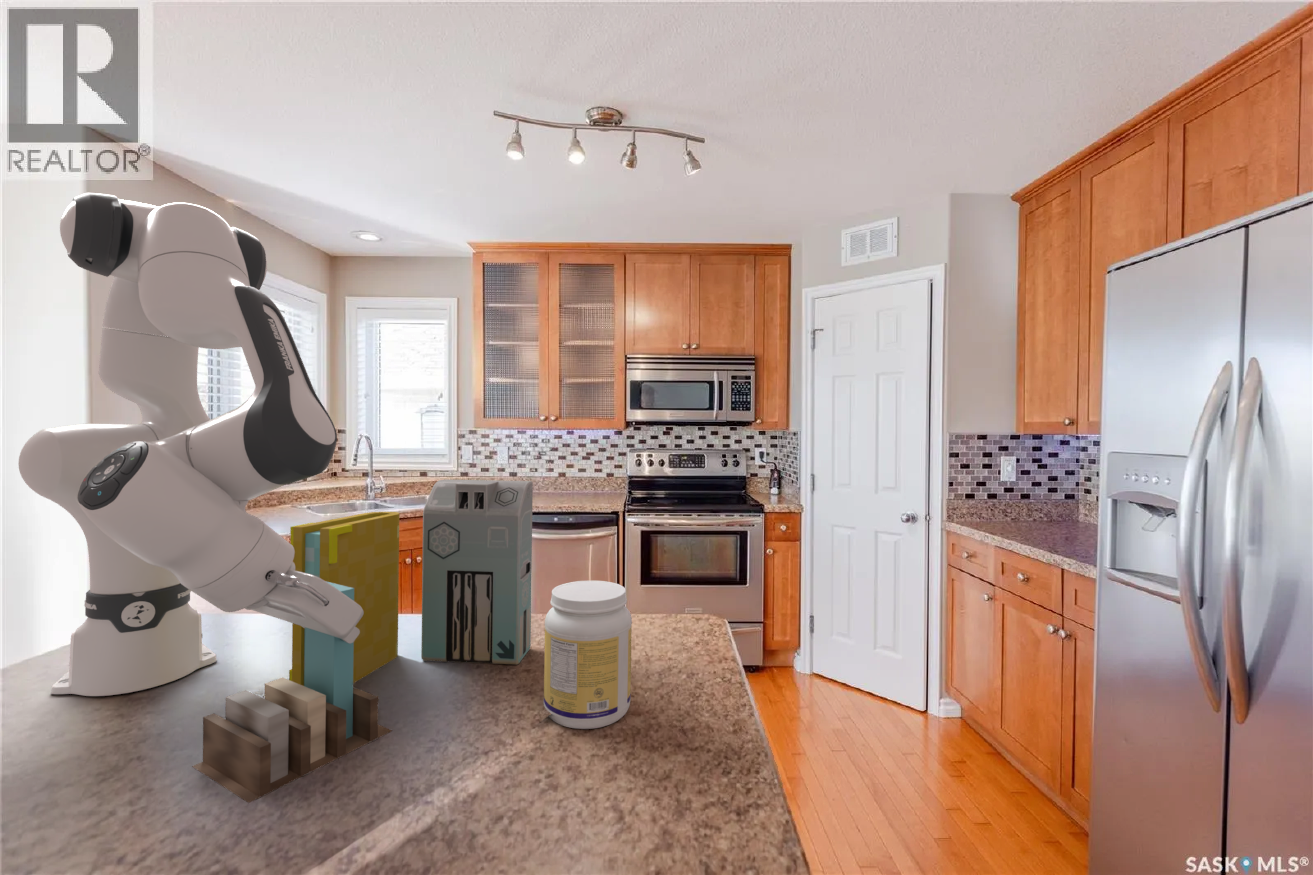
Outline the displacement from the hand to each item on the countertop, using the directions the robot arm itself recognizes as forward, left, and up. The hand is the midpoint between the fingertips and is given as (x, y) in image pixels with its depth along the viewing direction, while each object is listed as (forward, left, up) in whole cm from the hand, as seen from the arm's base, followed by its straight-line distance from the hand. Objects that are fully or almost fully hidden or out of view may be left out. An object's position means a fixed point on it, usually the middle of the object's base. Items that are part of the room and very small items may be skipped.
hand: (334, 631), depth 70 cm
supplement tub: (+12, +29, -14) cm, 35 cm away
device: (-16, +25, -14) cm, 33 cm away
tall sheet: (0, -1, -12) cm, 12 cm away
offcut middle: (+2, -4, -12) cm, 13 cm away
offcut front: (+3, -8, -12) cm, 15 cm away
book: (-18, +6, -14) cm, 23 cm away
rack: (+1, -4, -14) cm, 15 cm away
